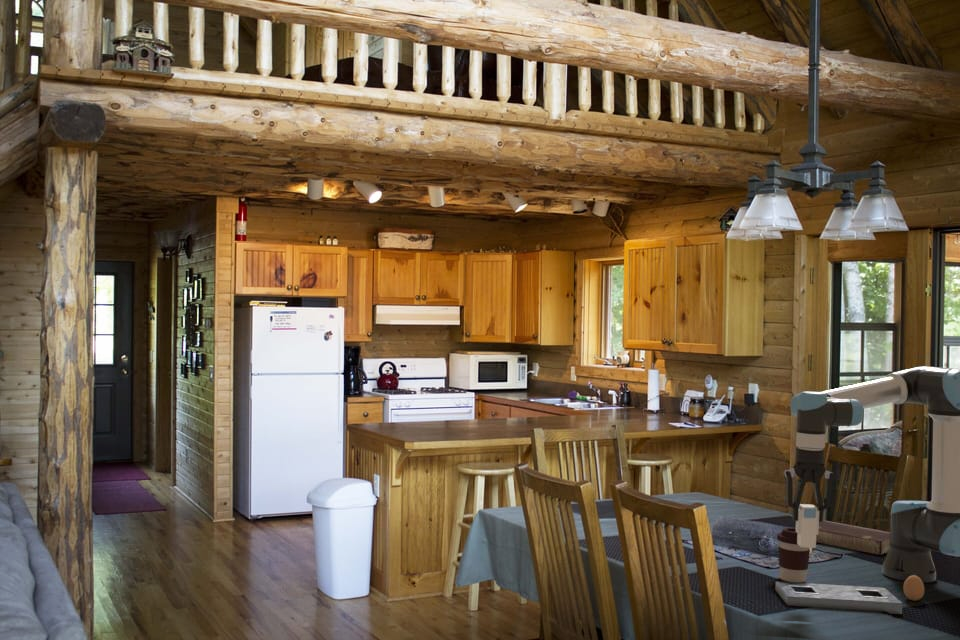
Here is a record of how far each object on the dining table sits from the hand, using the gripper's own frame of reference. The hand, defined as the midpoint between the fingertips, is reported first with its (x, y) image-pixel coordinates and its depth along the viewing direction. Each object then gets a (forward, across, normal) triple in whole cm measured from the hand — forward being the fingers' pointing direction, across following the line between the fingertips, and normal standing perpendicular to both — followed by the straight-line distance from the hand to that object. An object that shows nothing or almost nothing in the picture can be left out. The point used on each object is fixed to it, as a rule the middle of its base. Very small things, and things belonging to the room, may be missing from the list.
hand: (806, 532), depth 269 cm
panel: (+19, -9, 0) cm, 21 cm away
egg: (+19, -32, -7) cm, 38 cm away
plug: (+4, 0, 0) cm, 4 cm away
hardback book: (+20, -34, -75) cm, 84 cm away
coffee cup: (+19, -2, -20) cm, 28 cm away
